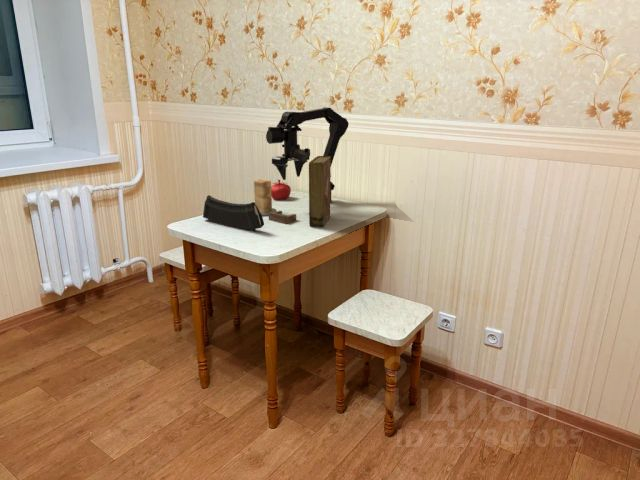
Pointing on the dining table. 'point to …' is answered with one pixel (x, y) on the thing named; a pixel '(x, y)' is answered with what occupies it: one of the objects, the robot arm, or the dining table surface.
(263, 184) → the oak block
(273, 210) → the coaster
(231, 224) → the magazine
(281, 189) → the pomegranate
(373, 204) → the dining table surface
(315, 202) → the book
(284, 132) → the robot arm
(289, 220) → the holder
